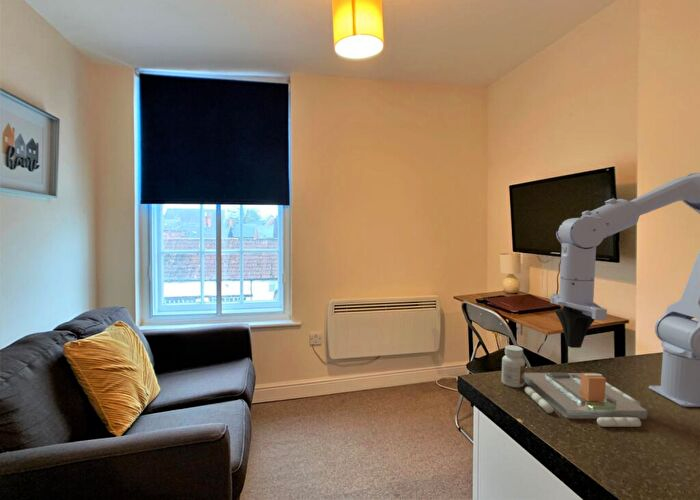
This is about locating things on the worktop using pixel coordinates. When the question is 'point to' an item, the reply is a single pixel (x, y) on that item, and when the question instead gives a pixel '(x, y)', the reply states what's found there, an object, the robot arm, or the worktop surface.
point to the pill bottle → (513, 366)
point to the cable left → (618, 422)
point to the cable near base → (623, 394)
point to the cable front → (539, 400)
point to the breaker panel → (580, 397)
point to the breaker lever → (592, 386)
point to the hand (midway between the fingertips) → (573, 346)
